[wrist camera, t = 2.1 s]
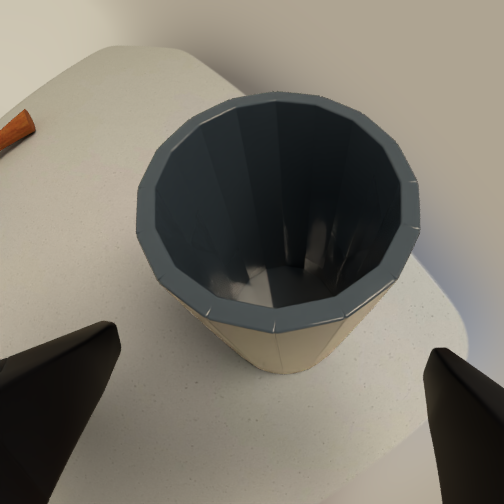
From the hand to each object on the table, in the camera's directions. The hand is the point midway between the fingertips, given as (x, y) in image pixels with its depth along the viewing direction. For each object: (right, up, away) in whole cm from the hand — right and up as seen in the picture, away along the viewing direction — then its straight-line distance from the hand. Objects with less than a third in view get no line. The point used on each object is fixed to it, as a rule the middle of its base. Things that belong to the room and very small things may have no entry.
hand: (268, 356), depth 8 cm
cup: (+1, -1, +11) cm, 11 cm away
